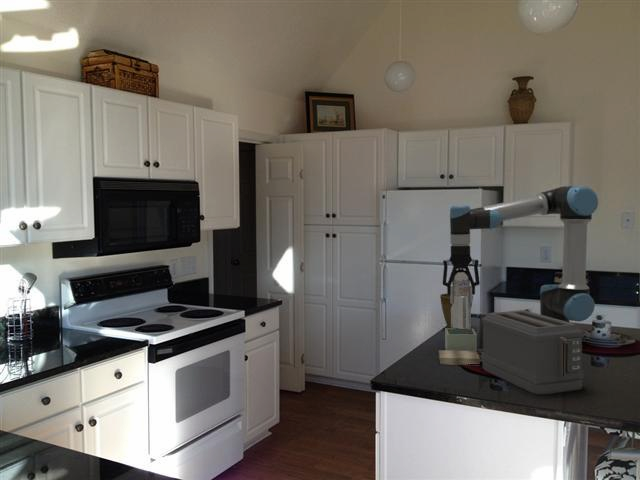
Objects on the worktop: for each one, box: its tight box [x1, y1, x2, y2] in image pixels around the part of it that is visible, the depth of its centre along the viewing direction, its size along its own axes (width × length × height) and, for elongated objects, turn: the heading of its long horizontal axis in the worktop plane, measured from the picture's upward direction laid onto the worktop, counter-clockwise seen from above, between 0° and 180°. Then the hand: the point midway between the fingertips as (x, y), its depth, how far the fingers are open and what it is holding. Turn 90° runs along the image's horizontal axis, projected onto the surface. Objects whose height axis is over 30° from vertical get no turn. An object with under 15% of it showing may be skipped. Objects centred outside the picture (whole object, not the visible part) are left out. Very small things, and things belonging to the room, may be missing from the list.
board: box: [438, 349, 481, 366], centre depth 219 cm, size 14×11×2 cm
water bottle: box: [451, 268, 471, 330], centre depth 231 cm, size 7×7×25 cm
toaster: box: [480, 309, 585, 395], centre depth 196 cm, size 19×34×20 cm, turn 18°
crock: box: [444, 327, 478, 352], centre depth 233 cm, size 11×11×8 cm
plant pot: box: [439, 293, 474, 328], centre depth 271 cm, size 15×15×16 cm
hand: (461, 302), depth 232 cm, fingers closed on water bottle, 7 cm apart
